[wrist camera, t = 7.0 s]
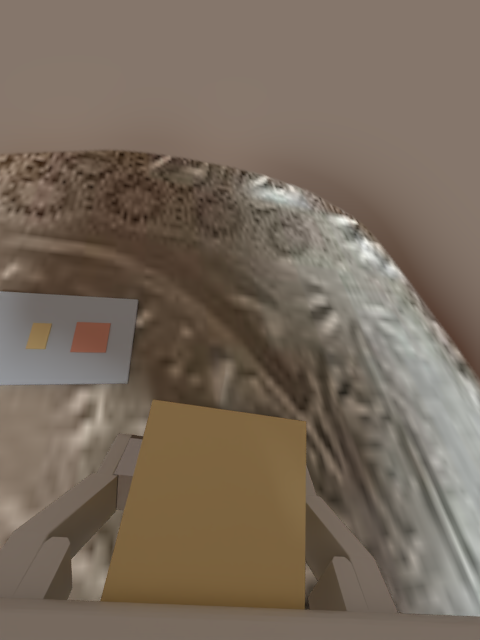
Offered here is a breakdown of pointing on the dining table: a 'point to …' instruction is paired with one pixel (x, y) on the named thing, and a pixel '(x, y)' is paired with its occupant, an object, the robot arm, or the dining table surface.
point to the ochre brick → (214, 512)
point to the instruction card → (65, 339)
